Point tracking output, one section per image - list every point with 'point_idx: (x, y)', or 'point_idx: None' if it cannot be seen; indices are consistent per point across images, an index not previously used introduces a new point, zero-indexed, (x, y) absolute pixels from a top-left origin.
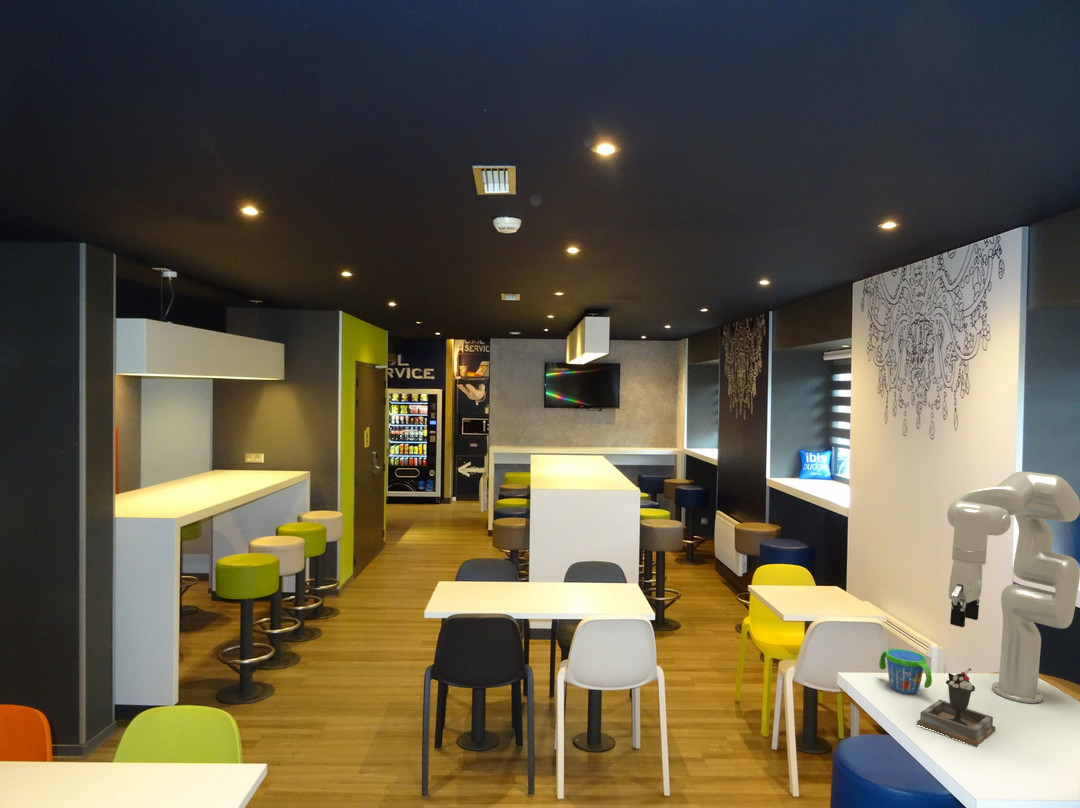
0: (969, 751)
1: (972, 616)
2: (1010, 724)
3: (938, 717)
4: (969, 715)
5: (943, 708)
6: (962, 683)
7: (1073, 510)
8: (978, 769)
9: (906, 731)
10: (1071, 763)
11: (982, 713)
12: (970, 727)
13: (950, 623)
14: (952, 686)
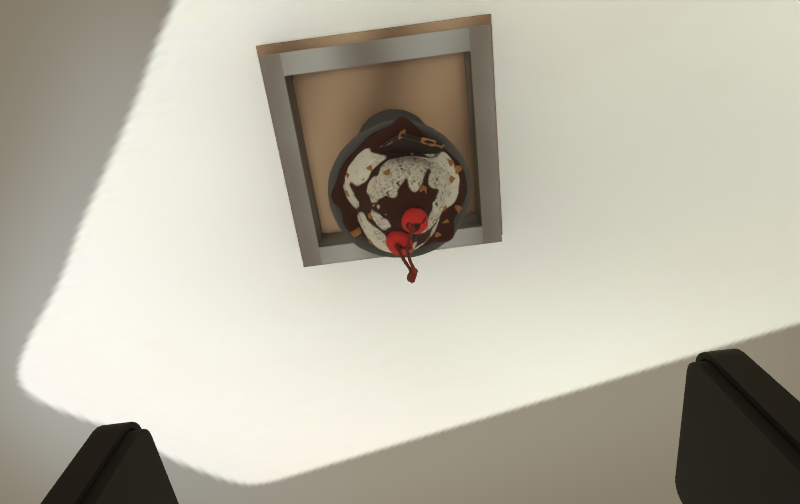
0: (252, 255)
1: (698, 477)
2: (613, 228)
3: (281, 130)
4: (475, 161)
5: (466, 55)
6: (367, 226)
7: None
8: (161, 322)
9: (170, 51)
10: (465, 423)
11: (499, 204)
12: (314, 243)
13: (102, 426)
14: (343, 179)
